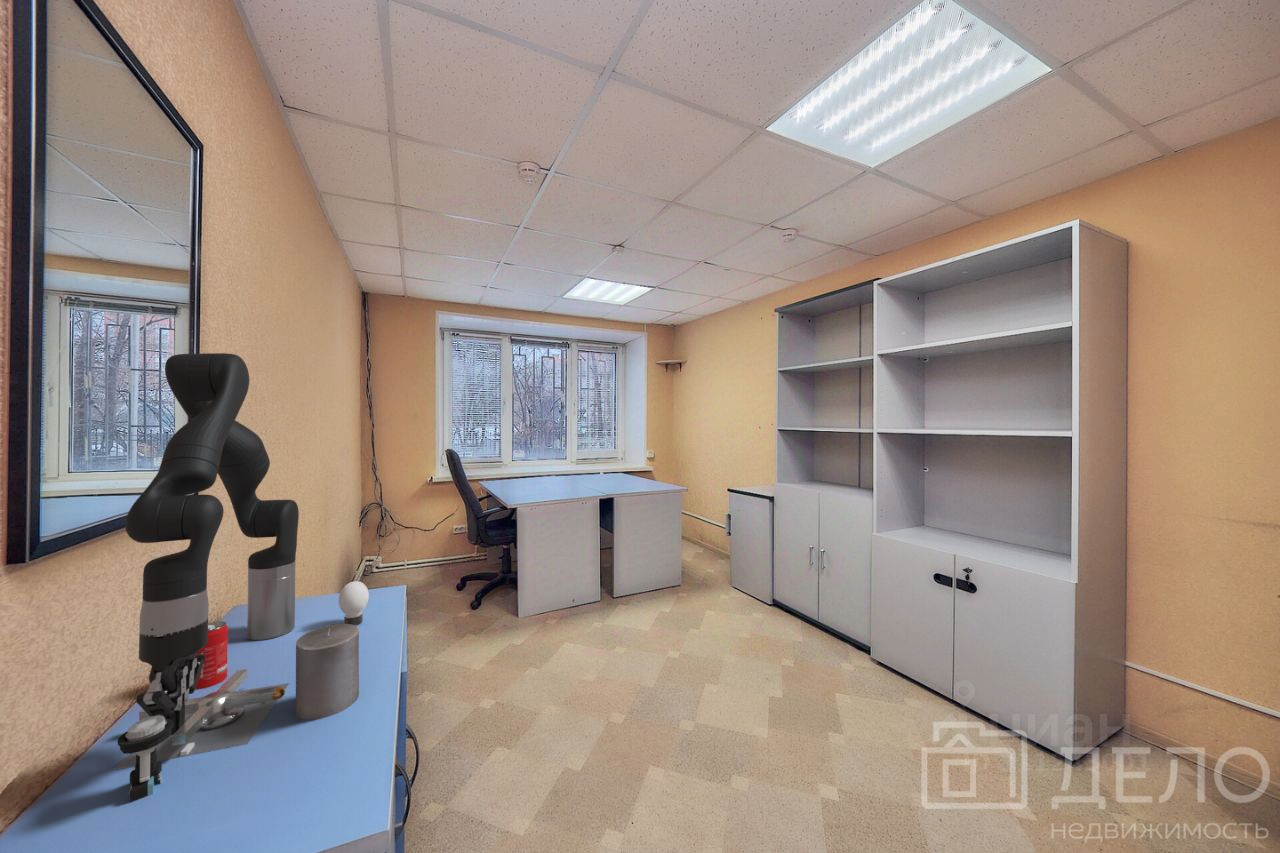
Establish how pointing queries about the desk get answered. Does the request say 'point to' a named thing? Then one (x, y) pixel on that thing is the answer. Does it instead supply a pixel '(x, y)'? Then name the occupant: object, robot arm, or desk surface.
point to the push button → (145, 753)
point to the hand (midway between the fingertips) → (172, 732)
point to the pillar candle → (327, 671)
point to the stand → (214, 734)
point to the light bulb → (353, 602)
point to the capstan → (220, 707)
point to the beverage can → (214, 656)
